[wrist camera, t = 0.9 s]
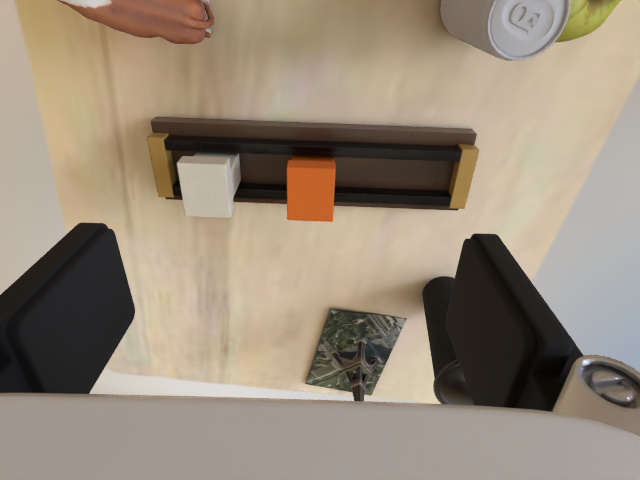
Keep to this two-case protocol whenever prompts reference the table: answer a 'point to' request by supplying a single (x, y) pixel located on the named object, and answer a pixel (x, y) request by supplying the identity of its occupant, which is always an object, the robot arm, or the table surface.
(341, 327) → the eiffel tower figurine
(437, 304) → the drinking cup
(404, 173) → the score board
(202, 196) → the white boxy piece
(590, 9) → the apple
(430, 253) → the table surface
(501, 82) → the table surface
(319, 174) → the orange rectangular block
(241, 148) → the rails
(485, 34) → the beverage can
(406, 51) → the table surface
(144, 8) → the bull figurine
